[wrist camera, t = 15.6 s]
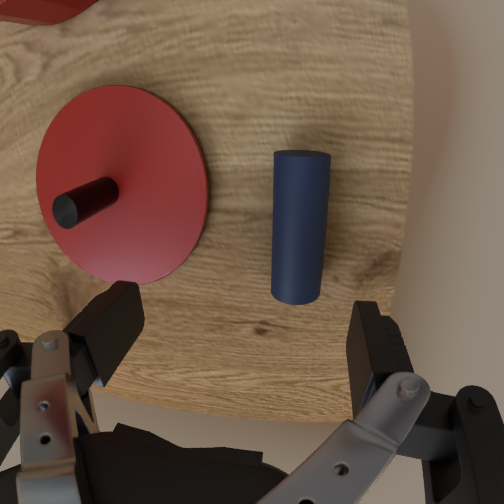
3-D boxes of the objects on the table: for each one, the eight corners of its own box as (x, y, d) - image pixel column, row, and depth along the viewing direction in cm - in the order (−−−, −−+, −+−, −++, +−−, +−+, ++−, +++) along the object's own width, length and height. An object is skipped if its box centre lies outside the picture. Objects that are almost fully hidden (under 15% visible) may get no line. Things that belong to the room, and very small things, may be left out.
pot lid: (97, 50, 20) (44, 41, 14) (258, 173, 22) (241, 195, 16) (24, 203, 26) (-21, 225, 20) (143, 312, 29) (111, 356, 23)
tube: (278, 149, 22) (268, 154, 18) (330, 152, 21) (330, 158, 18) (275, 277, 26) (266, 301, 22) (321, 282, 25) (318, 307, 22)
